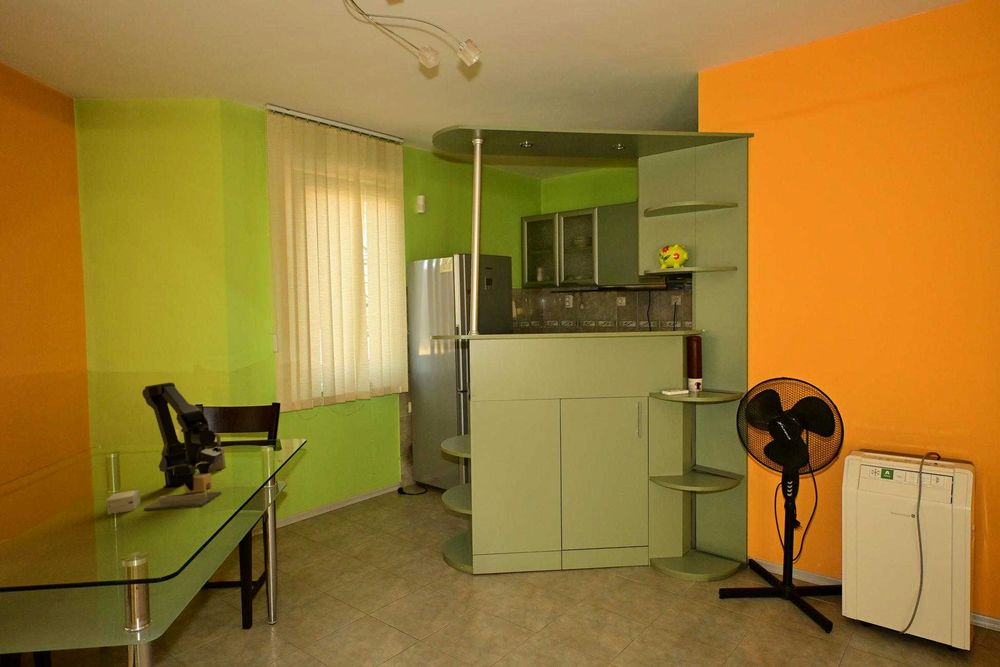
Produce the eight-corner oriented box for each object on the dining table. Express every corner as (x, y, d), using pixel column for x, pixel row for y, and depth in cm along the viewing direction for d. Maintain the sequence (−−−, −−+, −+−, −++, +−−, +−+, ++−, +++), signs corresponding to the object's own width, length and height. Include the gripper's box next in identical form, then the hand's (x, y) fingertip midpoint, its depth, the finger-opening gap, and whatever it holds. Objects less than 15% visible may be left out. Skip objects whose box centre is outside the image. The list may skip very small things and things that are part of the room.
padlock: (223, 469, 234) (218, 433, 233) (202, 472, 233) (197, 435, 232) (226, 466, 238) (222, 431, 237) (205, 469, 237) (201, 433, 236)
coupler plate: (143, 510, 190) (142, 503, 189) (165, 498, 202) (165, 491, 201) (202, 506, 189) (201, 499, 189) (221, 493, 201) (220, 487, 201)
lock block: (185, 493, 206) (183, 478, 205) (193, 488, 211) (192, 474, 211) (204, 491, 205) (203, 477, 205) (212, 486, 211) (210, 473, 210)
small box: (107, 515, 189) (105, 500, 188) (115, 507, 196) (113, 493, 196) (134, 510, 191) (132, 495, 191) (141, 503, 199) (139, 488, 198)
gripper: (201, 449, 198) (206, 493, 198) (228, 436, 216) (233, 476, 217) (169, 451, 198) (175, 495, 199) (199, 438, 217) (204, 479, 218)
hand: (198, 486), depth 208 cm, fingers open, 9 cm apart
